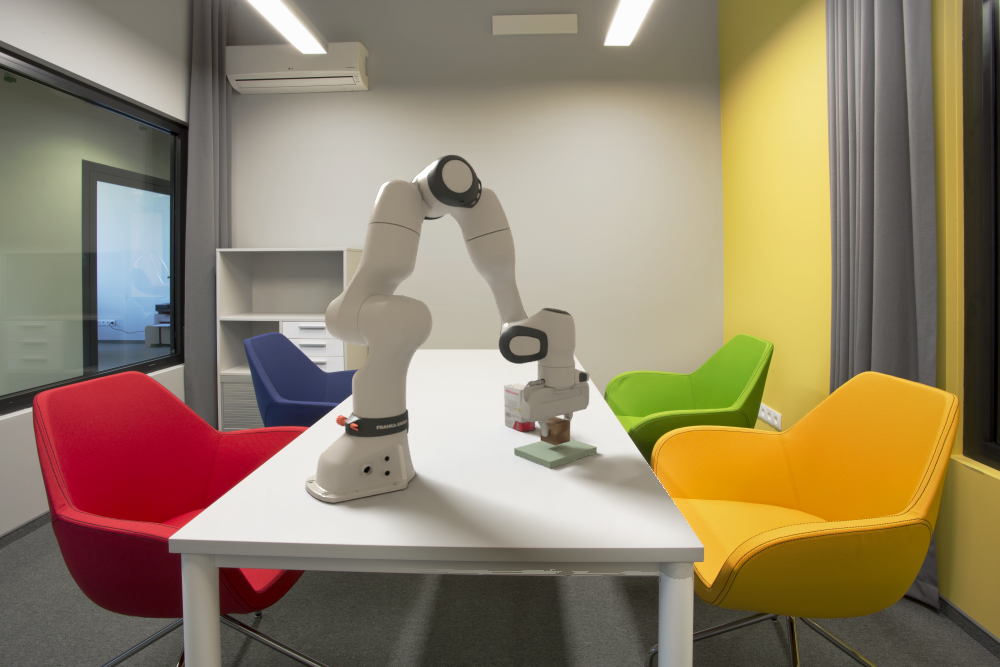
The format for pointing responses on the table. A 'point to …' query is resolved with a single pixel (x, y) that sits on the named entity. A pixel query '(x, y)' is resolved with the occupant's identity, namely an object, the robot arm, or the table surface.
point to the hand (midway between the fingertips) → (555, 433)
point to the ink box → (515, 408)
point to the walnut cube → (557, 431)
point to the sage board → (554, 452)
